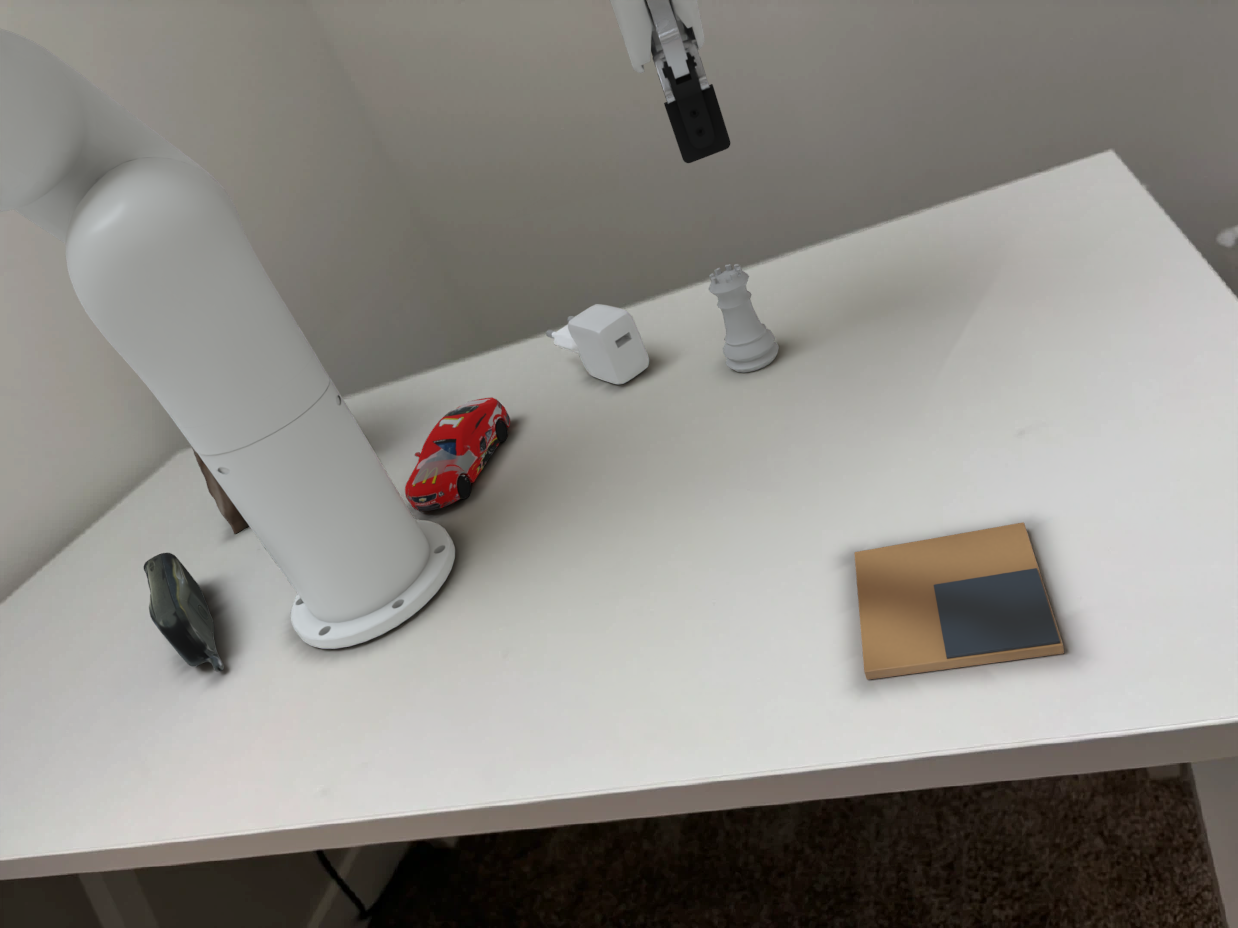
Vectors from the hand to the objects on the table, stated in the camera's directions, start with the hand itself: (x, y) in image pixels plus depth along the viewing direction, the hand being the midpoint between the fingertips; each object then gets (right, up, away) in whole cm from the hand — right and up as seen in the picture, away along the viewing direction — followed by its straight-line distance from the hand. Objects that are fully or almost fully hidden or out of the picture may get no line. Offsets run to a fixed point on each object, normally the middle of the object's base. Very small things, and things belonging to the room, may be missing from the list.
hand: (701, 136), depth 66 cm
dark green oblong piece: (-38, -36, +8) cm, 53 cm away
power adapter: (-7, -14, +21) cm, 26 cm away
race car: (-19, -23, +14) cm, 33 cm away
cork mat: (+11, -30, -17) cm, 36 cm away
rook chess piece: (+5, -14, +12) cm, 19 cm away
